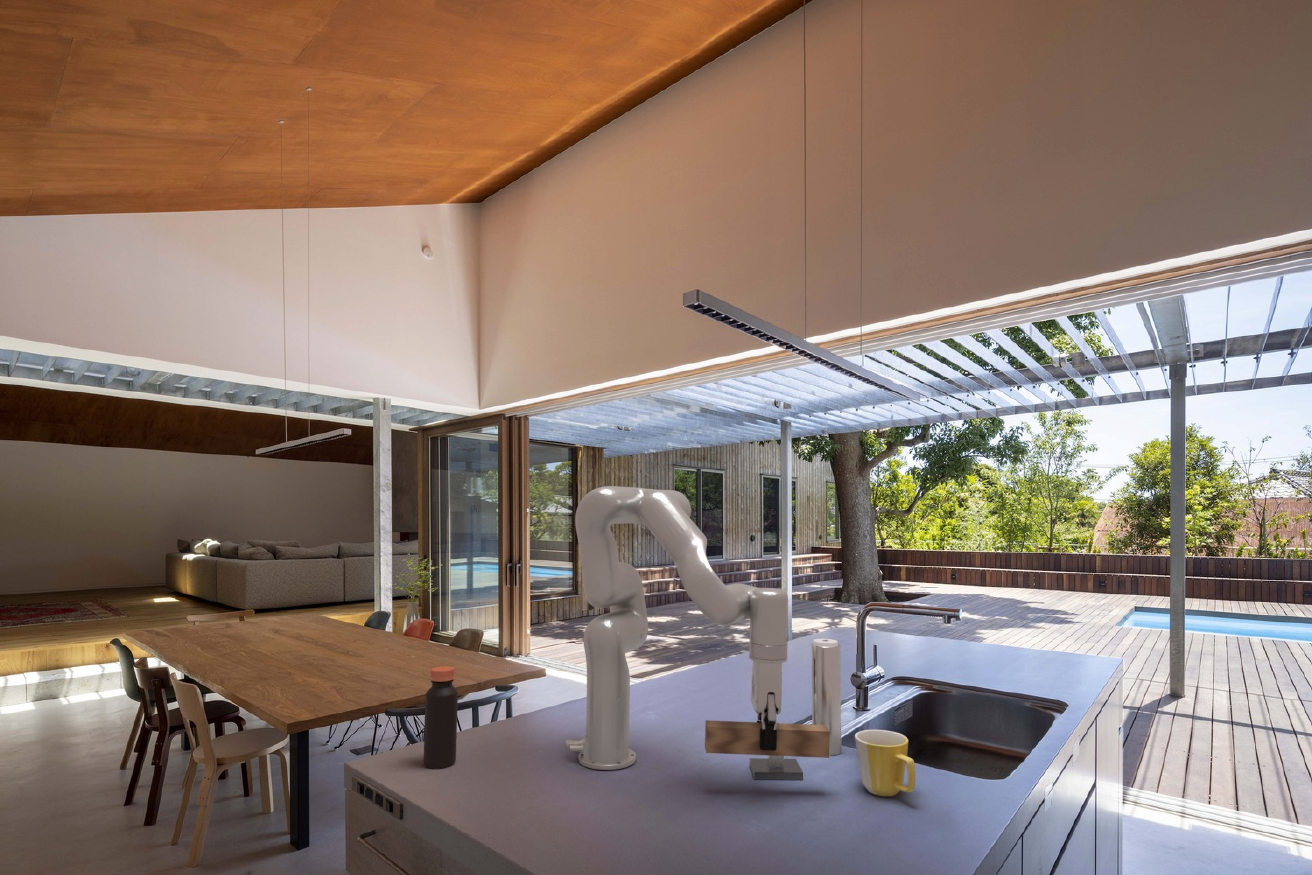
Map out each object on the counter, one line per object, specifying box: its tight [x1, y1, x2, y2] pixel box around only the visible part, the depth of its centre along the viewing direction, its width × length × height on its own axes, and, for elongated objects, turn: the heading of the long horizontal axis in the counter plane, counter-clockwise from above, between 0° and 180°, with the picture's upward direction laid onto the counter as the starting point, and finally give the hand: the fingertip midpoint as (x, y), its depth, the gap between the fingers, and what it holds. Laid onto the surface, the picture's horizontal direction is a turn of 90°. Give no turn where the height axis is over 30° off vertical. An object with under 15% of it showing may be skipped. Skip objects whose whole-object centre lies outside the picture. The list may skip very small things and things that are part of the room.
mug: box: [854, 729, 916, 797], centre depth 145 cm, size 14×10×10 cm
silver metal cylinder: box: [811, 638, 842, 756], centre depth 170 cm, size 6×6×25 cm
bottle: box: [422, 665, 459, 770], centre depth 160 cm, size 7×7×20 cm
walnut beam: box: [704, 719, 830, 759], centre depth 146 cm, size 24×4×5 cm, turn 90°
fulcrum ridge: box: [749, 755, 804, 781], centre depth 156 cm, size 10×8×8 cm
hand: (766, 744), depth 145 cm, fingers closed on walnut beam, 4 cm apart
